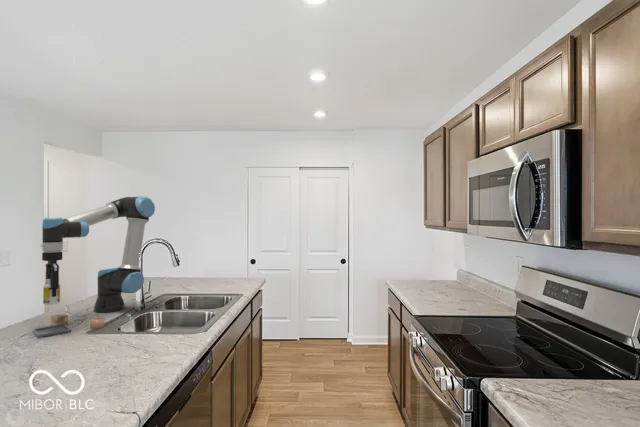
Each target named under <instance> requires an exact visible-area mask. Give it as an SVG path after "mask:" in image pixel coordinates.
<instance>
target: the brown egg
mask: <svg viewBox="0 0 640 427" xmlns="http://www.w3.org/2000/svg"><path fill="white" fill-rule="evenodd" d="M105 320H106V319H105V318H104V317H96V318H92V319H90V320H89V328H90V329H91V330H96V328H97V329H101V328H104V327H105Z"/></svg>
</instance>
